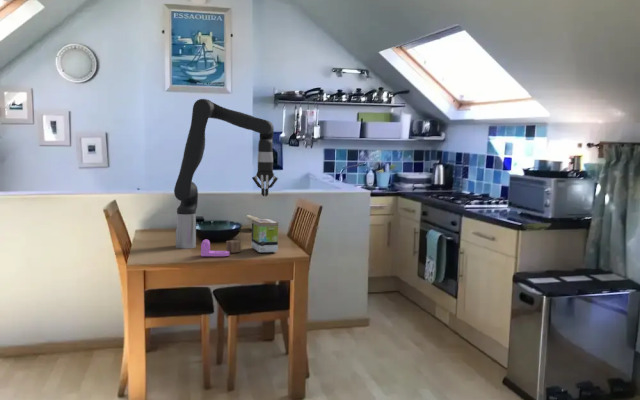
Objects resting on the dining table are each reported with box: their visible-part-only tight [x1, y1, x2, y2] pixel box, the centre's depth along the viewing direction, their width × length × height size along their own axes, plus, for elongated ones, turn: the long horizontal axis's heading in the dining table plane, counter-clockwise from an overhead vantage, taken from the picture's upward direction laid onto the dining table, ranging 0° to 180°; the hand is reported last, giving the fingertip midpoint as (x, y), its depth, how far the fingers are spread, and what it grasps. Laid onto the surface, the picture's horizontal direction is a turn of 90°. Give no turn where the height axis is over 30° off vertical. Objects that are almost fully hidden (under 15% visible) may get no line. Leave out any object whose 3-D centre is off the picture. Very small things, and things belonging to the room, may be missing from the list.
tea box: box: [251, 218, 279, 253], centre depth 269 cm, size 15×10×15 cm
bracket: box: [200, 239, 231, 257], centre depth 255 cm, size 13×6×7 cm, turn 98°
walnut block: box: [225, 239, 242, 254], centre depth 264 cm, size 5×5×5 cm
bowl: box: [246, 214, 260, 230], centre depth 326 cm, size 15×14×10 cm
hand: (264, 196), depth 267 cm, fingers closed
